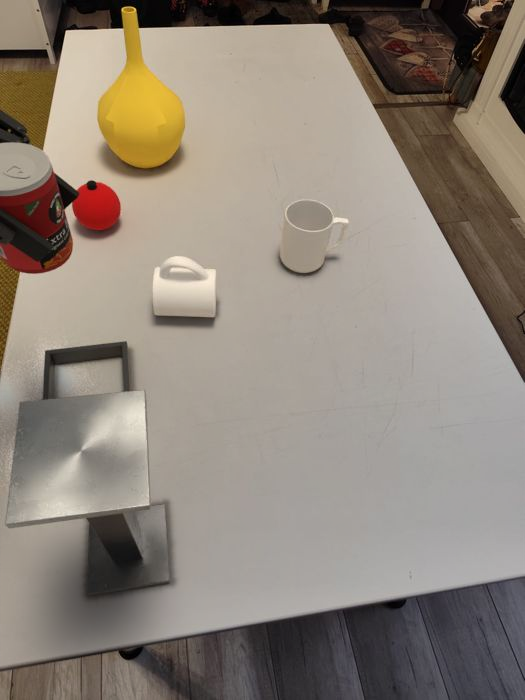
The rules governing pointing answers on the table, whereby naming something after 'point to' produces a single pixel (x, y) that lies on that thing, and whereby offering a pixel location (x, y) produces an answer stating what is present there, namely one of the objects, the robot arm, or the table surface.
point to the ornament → (96, 206)
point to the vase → (140, 108)
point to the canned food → (33, 206)
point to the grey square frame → (82, 355)
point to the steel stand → (92, 483)
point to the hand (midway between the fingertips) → (59, 226)
